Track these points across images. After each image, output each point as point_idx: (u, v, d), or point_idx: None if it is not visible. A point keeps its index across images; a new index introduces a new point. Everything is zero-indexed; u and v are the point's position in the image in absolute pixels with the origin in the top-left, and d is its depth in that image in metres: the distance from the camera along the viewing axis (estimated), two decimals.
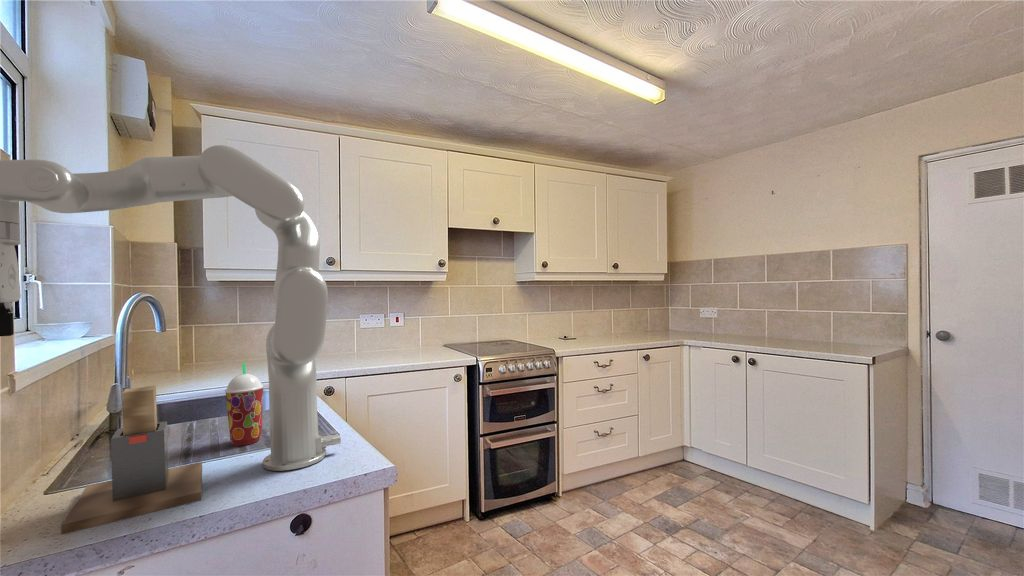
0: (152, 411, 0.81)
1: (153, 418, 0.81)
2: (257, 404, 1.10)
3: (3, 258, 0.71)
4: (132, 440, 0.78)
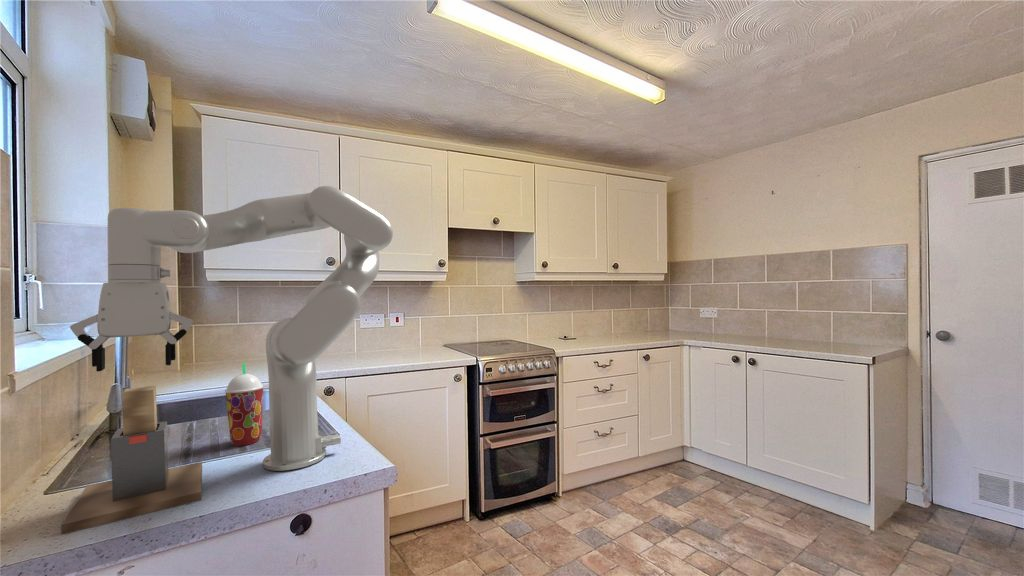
0: (152, 411, 0.81)
1: (153, 418, 0.81)
2: (257, 404, 1.10)
3: None
4: (132, 440, 0.78)
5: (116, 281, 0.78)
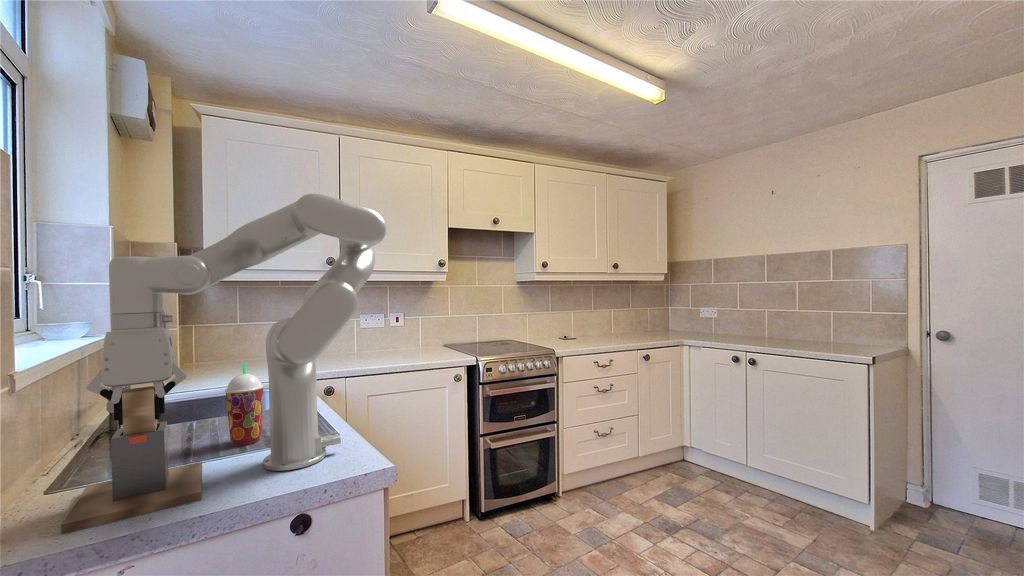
0: (152, 411, 0.81)
1: (153, 418, 0.81)
2: (257, 404, 1.10)
3: None
4: (132, 440, 0.78)
5: (119, 331, 0.78)
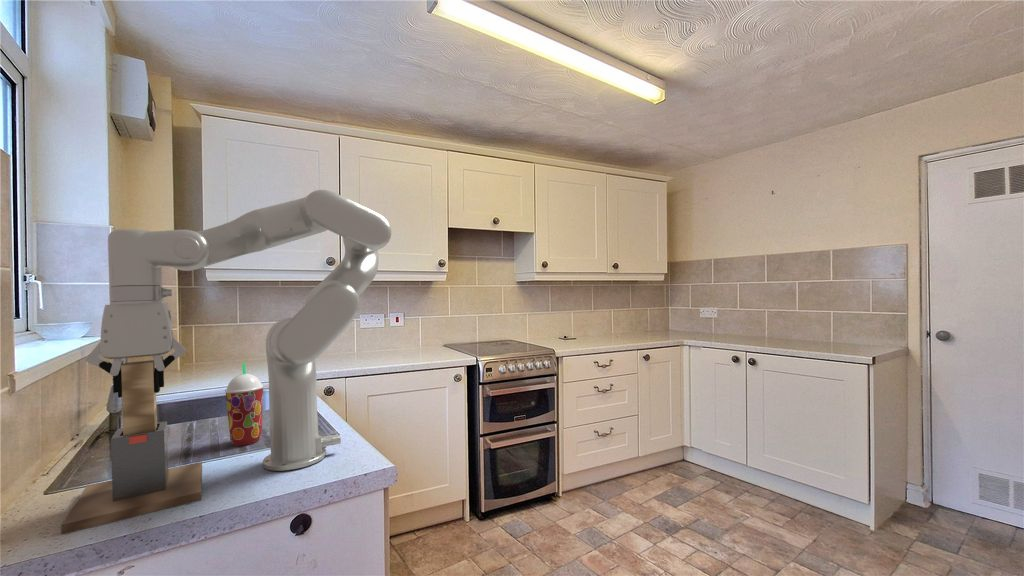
0: (151, 384, 0.81)
1: (152, 391, 0.81)
2: (257, 404, 1.10)
3: None
4: (132, 440, 0.78)
5: (118, 303, 0.78)
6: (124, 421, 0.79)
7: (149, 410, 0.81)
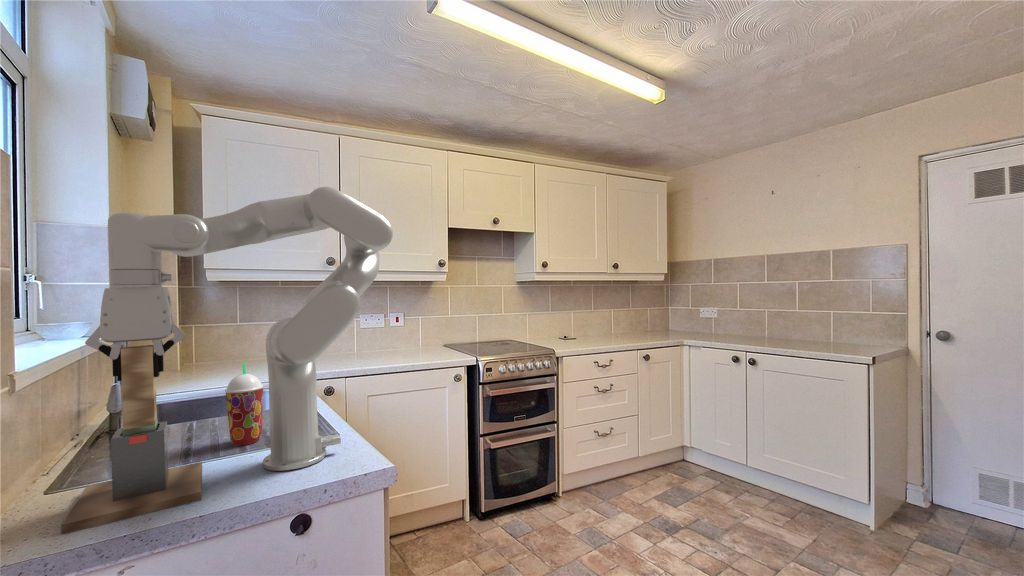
0: (151, 368, 0.81)
1: (152, 375, 0.81)
2: (257, 404, 1.10)
3: None
4: (132, 440, 0.78)
5: (117, 286, 0.78)
6: (124, 405, 0.79)
7: (148, 394, 0.81)
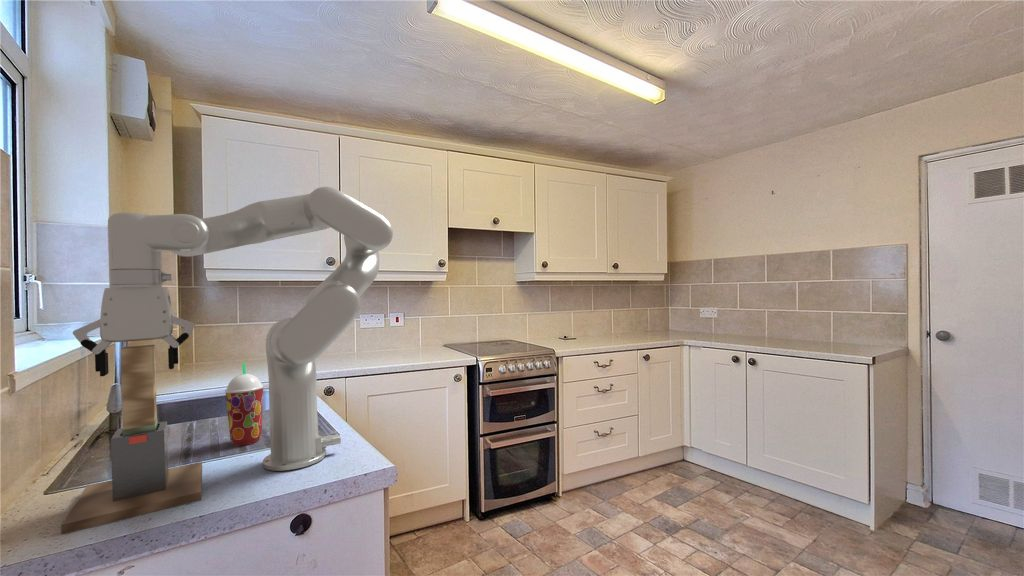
0: (151, 368, 0.81)
1: (152, 375, 0.81)
2: (257, 404, 1.10)
3: None
4: (132, 440, 0.78)
5: (118, 286, 0.78)
6: (124, 404, 0.79)
7: (148, 394, 0.81)
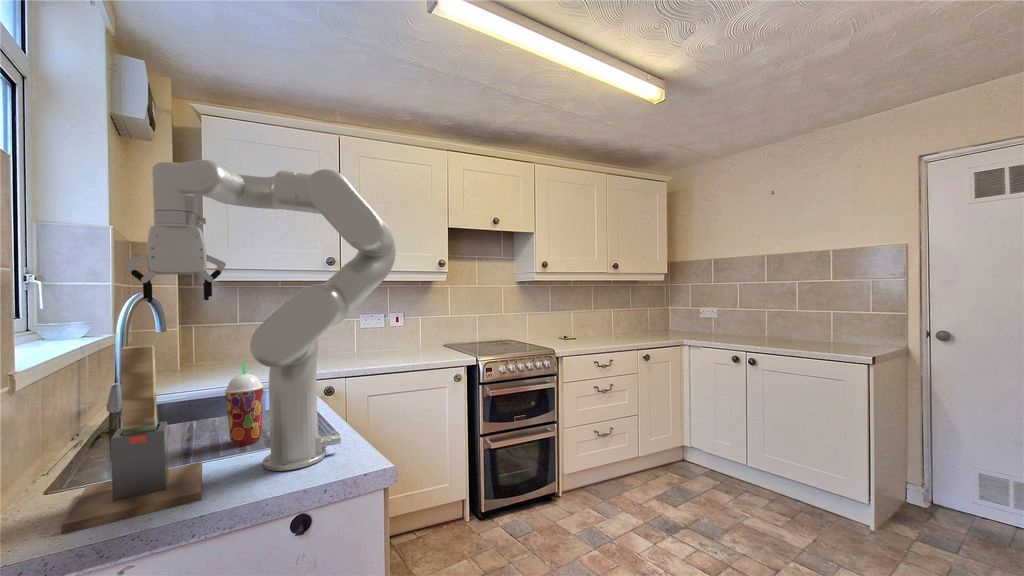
0: (151, 368, 0.81)
1: (152, 375, 0.81)
2: (257, 404, 1.10)
3: None
4: (132, 440, 0.78)
5: (163, 224, 0.91)
6: (124, 404, 0.79)
7: (148, 394, 0.81)
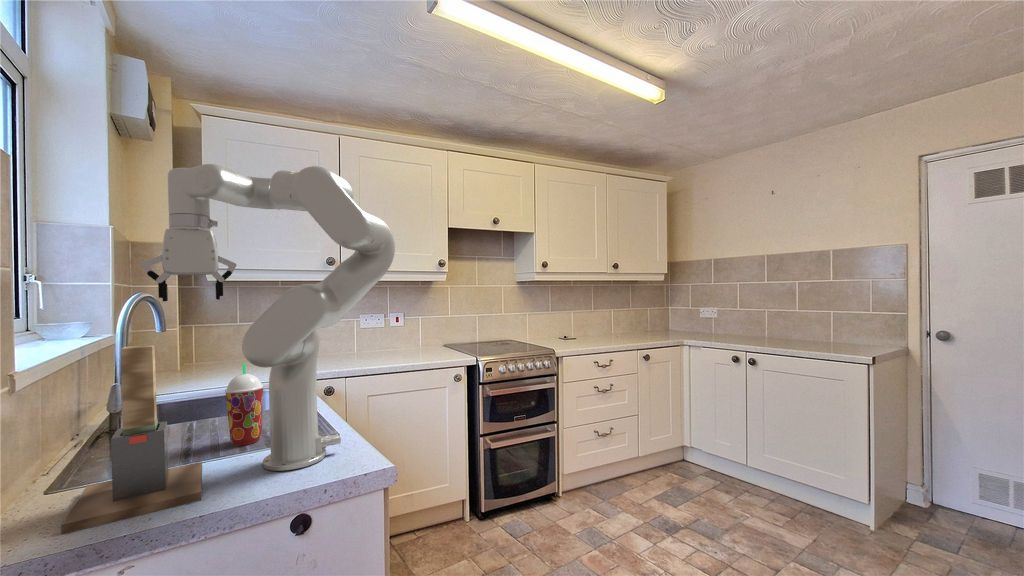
0: (151, 368, 0.81)
1: (152, 375, 0.81)
2: (257, 404, 1.10)
3: None
4: (132, 440, 0.78)
5: (177, 227, 0.95)
6: (124, 404, 0.79)
7: (148, 394, 0.81)
